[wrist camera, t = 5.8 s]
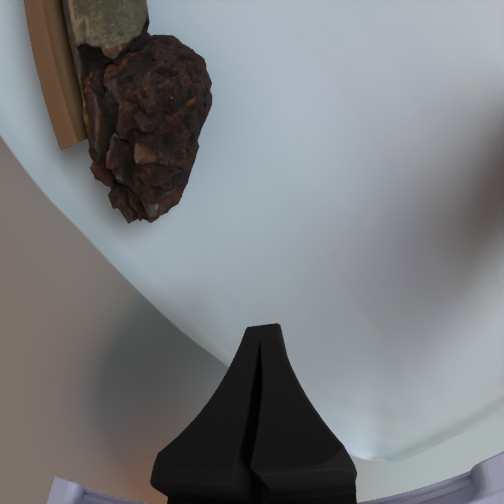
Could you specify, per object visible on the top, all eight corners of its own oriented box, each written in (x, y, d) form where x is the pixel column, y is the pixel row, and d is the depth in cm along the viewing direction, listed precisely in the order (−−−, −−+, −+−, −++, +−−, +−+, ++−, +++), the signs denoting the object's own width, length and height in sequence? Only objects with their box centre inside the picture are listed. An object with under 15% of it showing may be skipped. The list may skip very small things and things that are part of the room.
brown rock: (76, -43, 10) (25, -64, 6) (179, -84, 10) (151, -127, 5) (133, 203, 19) (95, 248, 15) (237, 182, 19) (227, 225, 14)
